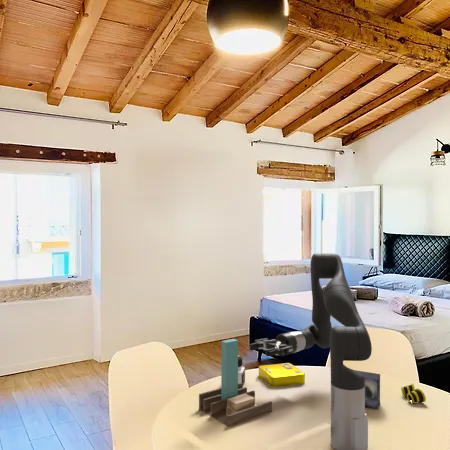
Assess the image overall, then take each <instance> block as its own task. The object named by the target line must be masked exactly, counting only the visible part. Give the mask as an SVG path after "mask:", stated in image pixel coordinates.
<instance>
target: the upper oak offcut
mask: <svg viewBox="0 0 450 450" xmlns="http://www.w3.org/2000/svg"><path fill="white" fill-rule="evenodd" d="M255 403H256V397H255V398H254V397H252V396H249V395H247V394H243V395H239V396H236V397H233V398H229V399H227V407H228V408H230V409H232V410H234V411H236V412H237V411H240V410H244V409H247V408H250V407H253V406H255Z"/></svg>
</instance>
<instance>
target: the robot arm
mask: <svg viewBox="0 0 450 450" xmlns="http://www.w3.org/2000/svg"><path fill="white" fill-rule="evenodd" d="M310 258H311V259H310V282H311V283H310V284H311V296H312V309H311V310H312V311H311V322H312V323H311V324H310V325H308V326H307V327H305V328H304V329H302V330H297V331H288V332H285V333H280V334H278V335H277V336H276V338H275V339H274V338H273V339H269V338H268V337H265V338H260V339H255V340H254V342H253V343H249V347H248V349H249V351H251V352H252V351H257V350H263V351H265V357H272V356H274V355H275V356H280V357H285V356H288V355H291V354H295V353H297V352H300V351H304V350H307V349H310V348H312V347H313V346H314V345H316V346H318V347H319V348H322V349H328V348H329V353H330V354H329V355H330V357H329V358H330V446H331V448H333V450H368V449H369V448H368V447H369V446H368V445H369V416H368V414H367V413H366V410H365V409H366V408H365V378H364V376H363V375H362V374H361V373H360V372H358V371H359V370H357V371H355V370H356V369H353V368H350V367H347V366H346V365H345V364H344V361H346V362H347V361H348V362H350V361H351V362H352V361H354V362H358V361H359V362H363V361H367V360H369V359H370V357H371V355H372V351H373V350H372V349H373V348H372V342H371V341H372V340H371V338H370V334H369V332H368V330H367V328H366V326H365V324H364V322H363V320H362V318H361V315H360V314H359V311H358V309H357V305H356V302H355V298H354V295H353V293H352V291H351V288H350V286H349V284H348V281H347V278H346V277H347V276H346V274H345V270H344V265H343V261H342V258H341V256H340V255H339V254H338V253H334V252H333V253H330V252H329V253H322V252H321V253H319V252H317V253H314V254H312V256H311V257H310ZM321 279H331V280H330V281H329V282H328V283H327V284H326V286H325V287H324V289H323V288H322V285H321V282H320V280H321ZM331 318H333V319H335V320H336V321H337V322H338V323H340V324H341V325H343V326H332V323H331Z"/></svg>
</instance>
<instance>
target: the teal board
mask: <svg viewBox="0 0 450 450" xmlns="http://www.w3.org/2000/svg"><path fill="white" fill-rule="evenodd" d="M238 356H239V340H238V339H235V338H231V339H226V340H221V358H220V359H221V369H220V370H221V372H220V373H221V376H220V377H221V380H220V381H221V383H220V384H221V387H220V388H221V400H223V399H227V398H230V397H233V396H237V395H238Z"/></svg>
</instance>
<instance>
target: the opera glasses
mask: <svg viewBox="0 0 450 450" xmlns="http://www.w3.org/2000/svg"><path fill="white" fill-rule="evenodd" d="M400 388H401V389H400V390H401V393H402V396H403V395H404V396H405V397H406V399H407V401H408V402H409V401H410V400H412V403H413V404H415V403H414V402H419V403H420V402H426V400H427V399H426V395H425V393H424V392H423V390H421V389H420V388H415V384H414V383H411V384H409V385H405V386H401V387H400ZM404 396H403V397H404Z"/></svg>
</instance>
